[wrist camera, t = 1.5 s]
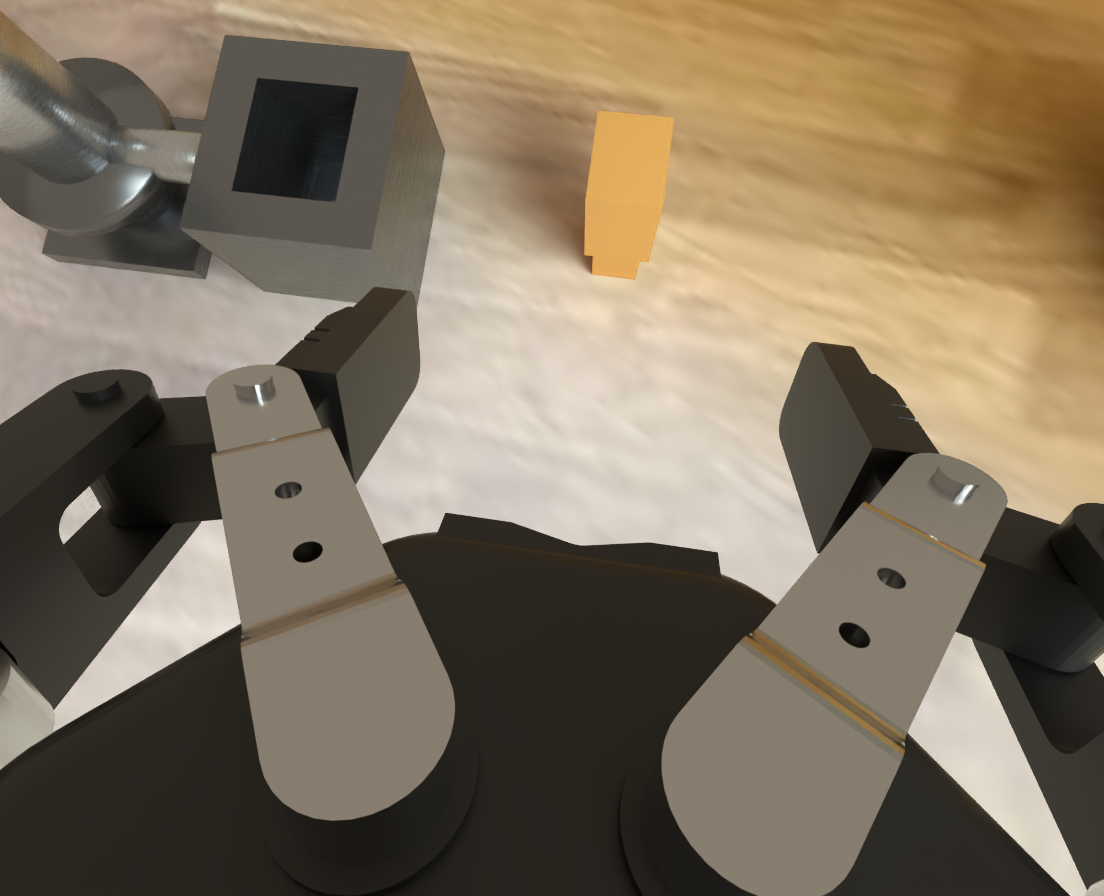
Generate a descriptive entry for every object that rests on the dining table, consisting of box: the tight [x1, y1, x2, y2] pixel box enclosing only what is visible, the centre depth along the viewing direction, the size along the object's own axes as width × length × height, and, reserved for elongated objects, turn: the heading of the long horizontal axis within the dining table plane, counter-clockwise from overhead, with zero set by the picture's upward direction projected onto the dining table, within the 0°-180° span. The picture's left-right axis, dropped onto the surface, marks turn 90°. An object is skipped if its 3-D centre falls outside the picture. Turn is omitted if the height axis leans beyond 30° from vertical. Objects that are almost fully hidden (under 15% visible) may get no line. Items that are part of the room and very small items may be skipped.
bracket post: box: [0, 11, 445, 309], centre depth 24 cm, size 21×10×18 cm, turn 82°
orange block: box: [584, 111, 674, 279], centre depth 28 cm, size 3×4×8 cm
